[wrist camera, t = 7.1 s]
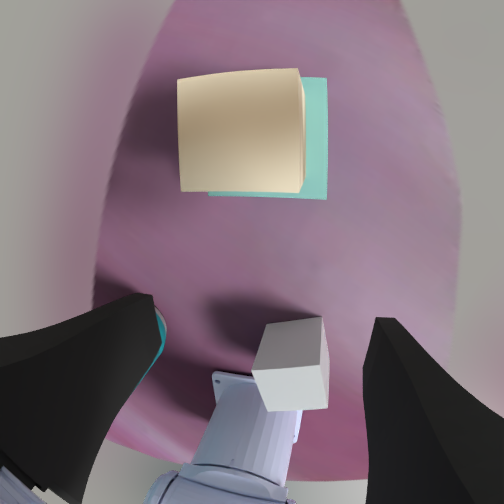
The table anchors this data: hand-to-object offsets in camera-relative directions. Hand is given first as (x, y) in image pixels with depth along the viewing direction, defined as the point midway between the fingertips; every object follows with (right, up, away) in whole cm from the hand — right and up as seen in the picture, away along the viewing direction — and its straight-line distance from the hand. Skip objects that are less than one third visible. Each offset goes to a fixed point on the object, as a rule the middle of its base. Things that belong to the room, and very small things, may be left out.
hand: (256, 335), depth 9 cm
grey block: (+3, -4, +12) cm, 13 cm away
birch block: (0, +8, +4) cm, 9 cm away
